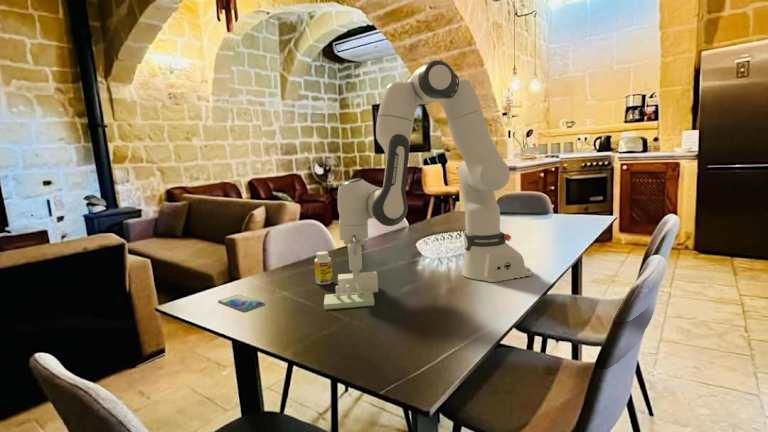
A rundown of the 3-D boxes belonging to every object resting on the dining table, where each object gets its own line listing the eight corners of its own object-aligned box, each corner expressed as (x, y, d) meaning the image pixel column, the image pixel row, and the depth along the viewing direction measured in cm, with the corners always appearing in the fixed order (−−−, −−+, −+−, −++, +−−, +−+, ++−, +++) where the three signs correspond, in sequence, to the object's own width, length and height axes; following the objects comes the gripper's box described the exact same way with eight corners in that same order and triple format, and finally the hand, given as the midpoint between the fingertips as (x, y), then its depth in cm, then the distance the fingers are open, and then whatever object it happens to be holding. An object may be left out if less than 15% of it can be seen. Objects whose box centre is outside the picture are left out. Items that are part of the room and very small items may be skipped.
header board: (372, 295, 126) (371, 279, 125) (374, 305, 118) (373, 288, 118) (325, 299, 125) (324, 283, 124) (324, 309, 117) (322, 292, 116)
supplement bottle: (320, 286, 138) (317, 255, 136) (313, 282, 142) (310, 252, 141) (335, 282, 141) (333, 252, 139) (328, 278, 145) (326, 249, 144)
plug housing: (377, 286, 134) (376, 271, 133) (378, 291, 129) (377, 276, 128) (339, 289, 133) (338, 274, 132) (339, 295, 128) (337, 279, 127)
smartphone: (238, 294, 133) (266, 303, 124) (238, 296, 133) (266, 306, 124) (216, 300, 128) (243, 310, 118) (217, 303, 128) (244, 313, 118)
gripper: (365, 238, 118) (367, 286, 121) (362, 226, 139) (364, 267, 141) (343, 240, 118) (345, 287, 120) (343, 227, 138) (345, 268, 140)
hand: (355, 276), depth 131 cm, fingers open, 8 cm apart
